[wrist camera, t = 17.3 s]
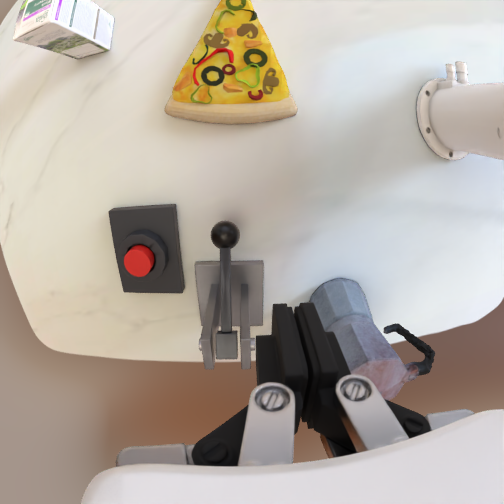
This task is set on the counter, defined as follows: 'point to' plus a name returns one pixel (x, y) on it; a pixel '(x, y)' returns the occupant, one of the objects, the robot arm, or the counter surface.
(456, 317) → the counter surface
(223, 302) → the lever
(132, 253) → the button
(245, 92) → the pizza slice
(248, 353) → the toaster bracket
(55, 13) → the syrup box
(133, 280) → the control block
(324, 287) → the moka pot
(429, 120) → the robot arm
